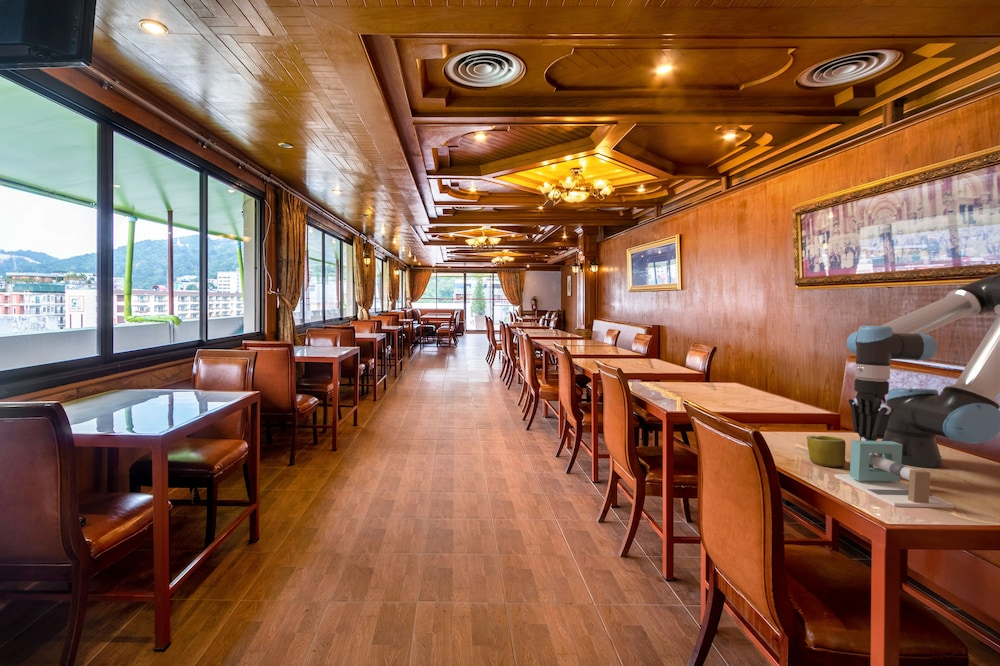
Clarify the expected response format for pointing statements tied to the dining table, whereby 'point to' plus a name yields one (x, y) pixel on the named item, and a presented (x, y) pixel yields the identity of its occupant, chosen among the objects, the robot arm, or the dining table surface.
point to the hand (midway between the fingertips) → (866, 460)
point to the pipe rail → (898, 485)
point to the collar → (861, 459)
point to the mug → (826, 450)
